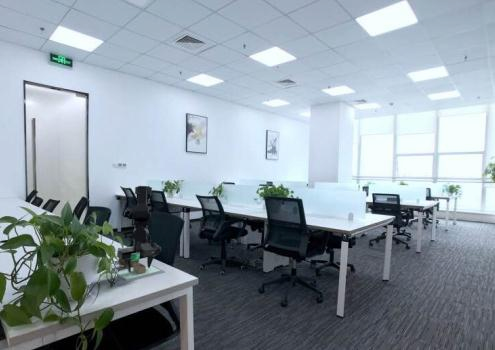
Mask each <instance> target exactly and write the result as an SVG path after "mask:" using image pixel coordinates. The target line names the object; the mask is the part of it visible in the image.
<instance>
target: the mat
mask: <svg viewBox="0 0 495 350" xmlns="http://www.w3.org/2000/svg"><path fill="white" fill-rule="evenodd" d="M151 266H153V267H155V268H157V269H159V270H161V272H159V273H156V274H152V275H148V276H144V277H140V278H136V279H132V280H128V281H126V280H125V279H123V278H121V277H120V276H118V275H117V276H116V278H115V279H117V280H118V281H119V282H121V283H122V284H126V283H130V282H134V281H137V280H141V279H145V278H149V277H152V276H153V277H154V276H157V275H161V274H163V273H164V274H165V273H166V271H164V270H163V269H160V268H159V267H157V266H154V265H152V264H151Z"/></svg>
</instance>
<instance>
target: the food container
mask: <svg viewBox="0 0 495 350" xmlns="http://www.w3.org/2000/svg"><path fill="white" fill-rule="evenodd" d="M132 247H134V245H133V246H127V247H124V248H121V247H118V248H117V251H116V252H117V253H118V251H120V250H129V251H133V249H132ZM130 258H131V259H132V260H131V268H133V264H137V263H140V259H139V258H140V254H135V255H131V257H130ZM118 265H119V266H118V267H119V268H123V269H127V267H126V265H125V262H124V261H123V260H122V259H120V258H118Z"/></svg>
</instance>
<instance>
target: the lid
mask: <svg viewBox="0 0 495 350" xmlns="http://www.w3.org/2000/svg"><path fill="white" fill-rule="evenodd" d="M153 266H154V265H153ZM153 266H150V268H148V265H144V264H142V262H141V263H140V262H139V263H137V264H133V267H132V268H133V269H132V268H131V272H130V273H129V272H128V269H127V270H124V271H119V272H117V273H116V274H117V275H118V276H120V277H121V278H123V279H125V280H126V281H128V280H132V279H136V278H140V277H144V276H148V275H152V274H156V273H159V272H161V270H162V269H161V270H159V269H160V268H159V269H157V268H158V267H157V268H155V267H156V266H155V267H153Z"/></svg>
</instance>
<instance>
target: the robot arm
mask: <svg viewBox="0 0 495 350" xmlns="http://www.w3.org/2000/svg"><path fill="white" fill-rule="evenodd" d="M152 189H153V188H152V186H150V185H137V186H135V187H134V194H135V196H136V199H137V205H136V206H135V207H134V208H133V209H134V210H133V211H132V214H131V227H132V226H133V228H134V229H133V233H132V241H133V246H134V247H132V249H133V251H129V250H120V251H118V252H117V253H116V257H117V258H118V259H119V258H120V259H122V260H123V261H124V262H125V265H126V267H127V268H126V269H127V270H128V272H129V273H130V272H131V270H132V267H131V260H132V259H131V258H130V257H131V255H135V254H140V258H139V260H140V259H147V261H146V262H147V263H146V264H147V265H146V266H148V268H150V266H151V265H152V263H153V260H154V259H155V257H156V256H157V255H159V253H162V247H161V246H160V245H158V244H157V242H152V237H151V235H150V232H149V229H148V226H150V224H151V223H152V213H151V211H149V209H150V208H149V206H148V202H149V201H150V199H151V195H152V192H153V190H152ZM146 257H147V258H146Z"/></svg>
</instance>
